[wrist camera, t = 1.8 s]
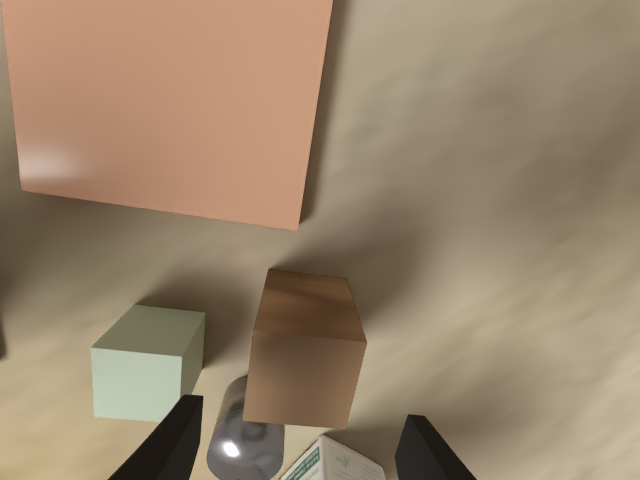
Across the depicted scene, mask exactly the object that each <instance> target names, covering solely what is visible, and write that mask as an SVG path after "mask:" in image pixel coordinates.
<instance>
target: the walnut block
mask: <svg viewBox="0 0 640 480" xmlns="http://www.w3.org/2000/svg"><path fill="white" fill-rule="evenodd" d="M366 345H367V341H366V338H365V334H364V331H363V328H362V325H361V322H360V319H359V316H358V313H357V310H356V307H355V304H354V301H353V297H352V294H351V291H350V288H349V285H348V282H347V279H341V278H334V277H326V276H318V275H311V274H303V273H296V272H288V271H280V270H273V269H268V273H267V277H266V281H265V286H264V290H263V294H262V298H261V302H260V306H259V310H258V314H257V318H256V322H255V326H254V330H253V338H252V346H251V354H250V363H249V371H248V379H247V387H246V395H245V404H244V412H243V420H242V421H251V422H263V423H276V424H288V425H300V426H313V427H325V428H338V429H346V426H347V422H348V418H349V414H350V410H351V406H352V402H353V398H354V393H355V389H356V385H357V381H358V377H359V373H360V369H361V365H362V361H363V357H364V353H365V349H366Z"/></svg>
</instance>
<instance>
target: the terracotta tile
mask: <svg viewBox="0 0 640 480" xmlns="http://www.w3.org/2000/svg"><path fill="white" fill-rule="evenodd" d="M332 3H333V0H1V6H2V15H3V24H4V33H5V43H6V52H7V61H8V70H9V79H10V89H11V98H12V107H13V116H14V125H15V134H16V144H17V153H18V162H19V171H20V180H21V190H22V191H27V192H34V193H41V194H48V195H55V196H62V197H69V198H75V199H82V200H89V201H96V202H103V203H110V204H117V205H123V206H130V207H137V208H144V209H151V210H158V211H165V212H172V213H178V214H185V215H192V216H199V217H206V218H213V219H220V220H226V221H233V222H240V223H247V224H254V225H261V226H268V227H274V228H281V229H288V230H295V231H298V225H299V219H300V212H301V205H302V199H303V192H304V186H305V179H306V173H307V166H308V160H309V153H310V147H311V140H312V134H313V127H314V121H315V114H316V108H317V101H318V95H319V88H320V82H321V75H322V69H323V62H324V56H325V49H326V43H327V36H328V30H329V23H330V17H331V10H332Z"/></svg>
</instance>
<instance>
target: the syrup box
mask: <svg viewBox="0 0 640 480" xmlns="http://www.w3.org/2000/svg"><path fill="white" fill-rule="evenodd" d="M280 480H386V478H385V474H384V471H383V468H382V467H381V466H380V465H378V464H377V463H375V462H373V461H372V460H370V459H368V458H367V457H365V456H363V455H361V454H359V453H357V452H355V451H354V450H352V449H350V448H348V447H346V446H344V445H342V444H340V443H338V442H336V441H335V440H333V439H331V438H329V437H326V436H325V435H321V436H320V437H319V438H318V439H317V442H316V443H315V444H314V445H313V446H312V447H311V448H310V449H309V450H308V451H306V452H305V453H304V454H303V455H302V456H301V457H300V459H299V460H298V461H297V462H296V463H295V464H294V465H293V466H292V467H291V468H290V469H289V470H288V471H287V472H286V473H285V474H284V475H283V476H282V477H281V479H280Z"/></svg>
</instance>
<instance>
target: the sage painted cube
mask: <svg viewBox="0 0 640 480" xmlns="http://www.w3.org/2000/svg"><path fill="white" fill-rule="evenodd" d="M205 321H206V313H204V312H195V311H187V310H178V309H169V308H161V307H152V306H143V305H135V304H134V305H133V306H132V307H131V308H130V309H129V310H128V311H127V312H126V313H125V314H124V315H123V316H122V317H121V318H120V319H119V320H118V321H117V322H116V323H115V324H114V325H113V326H112V327H111V328H110V329H109V330H108V331H107V332H106V333H105V334H104V335H103V336H102V337H101V338H100V339H99V340H98V341H97V342H96V343H95V344H94V345H93V346H92V347H91V364H92V383H93V402H94V417H103V418H116V419H128V420H141V421H154V422H162V420H163V419H164V418H165V417H166V416H167V414H168V413H169V412H170V411H171V409H172V408H173V407H174V406H175V404H176V403H177V402H178V400H179V399H180V398H181V397H182V396H183V395H185V394H188V395H191V394H192V392H193V389H194V387H195V385H196V382H197V380H198V378H199V375H200V373H201V371H202V363H203V349H204V335H205Z"/></svg>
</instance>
